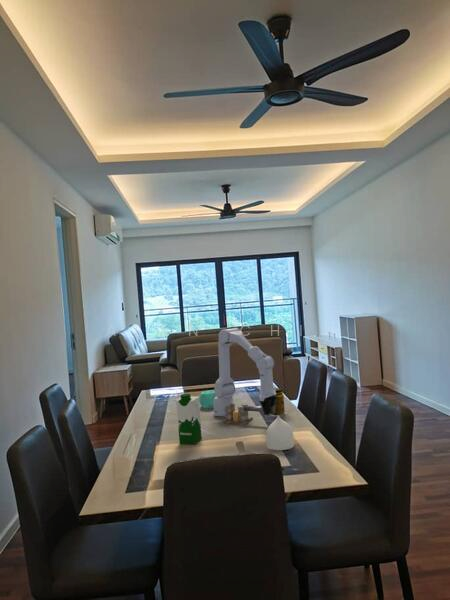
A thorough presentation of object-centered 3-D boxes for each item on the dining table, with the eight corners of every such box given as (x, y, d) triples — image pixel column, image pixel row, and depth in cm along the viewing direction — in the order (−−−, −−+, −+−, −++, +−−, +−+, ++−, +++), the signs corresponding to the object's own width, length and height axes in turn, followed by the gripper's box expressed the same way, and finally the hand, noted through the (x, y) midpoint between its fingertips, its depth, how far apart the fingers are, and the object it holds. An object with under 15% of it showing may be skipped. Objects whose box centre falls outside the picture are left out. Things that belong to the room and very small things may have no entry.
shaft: (242, 413, 202) (242, 405, 202) (246, 411, 205) (245, 403, 205) (272, 415, 195) (271, 407, 195) (275, 413, 198) (275, 404, 198)
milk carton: (176, 444, 179) (173, 395, 179) (185, 437, 187) (182, 390, 187) (196, 445, 176) (192, 396, 176) (204, 438, 184) (201, 391, 184)
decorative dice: (210, 409, 232) (209, 394, 232) (199, 407, 237) (198, 392, 237) (220, 405, 238) (219, 390, 238) (208, 404, 243) (207, 389, 243)
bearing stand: (223, 423, 204) (222, 407, 204) (233, 417, 213) (232, 402, 213) (243, 425, 199) (242, 408, 199) (252, 419, 207) (251, 403, 207)
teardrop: (275, 438, 178) (273, 409, 177) (299, 443, 171) (297, 412, 170) (260, 447, 169) (258, 416, 169) (284, 452, 162) (282, 420, 162)
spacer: (233, 422, 204) (232, 412, 204) (236, 419, 209) (236, 409, 209) (238, 423, 203) (237, 412, 203) (241, 420, 208) (240, 409, 208)
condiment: (288, 413, 214) (286, 389, 214) (275, 417, 209) (273, 392, 209) (278, 410, 220) (277, 387, 220) (265, 414, 215) (264, 389, 215)
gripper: (268, 387, 189) (270, 418, 190) (281, 380, 202) (283, 409, 202) (253, 386, 193) (256, 417, 193) (267, 380, 206) (269, 408, 206)
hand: (268, 413), depth 198 cm, fingers closed on shaft, 4 cm apart
